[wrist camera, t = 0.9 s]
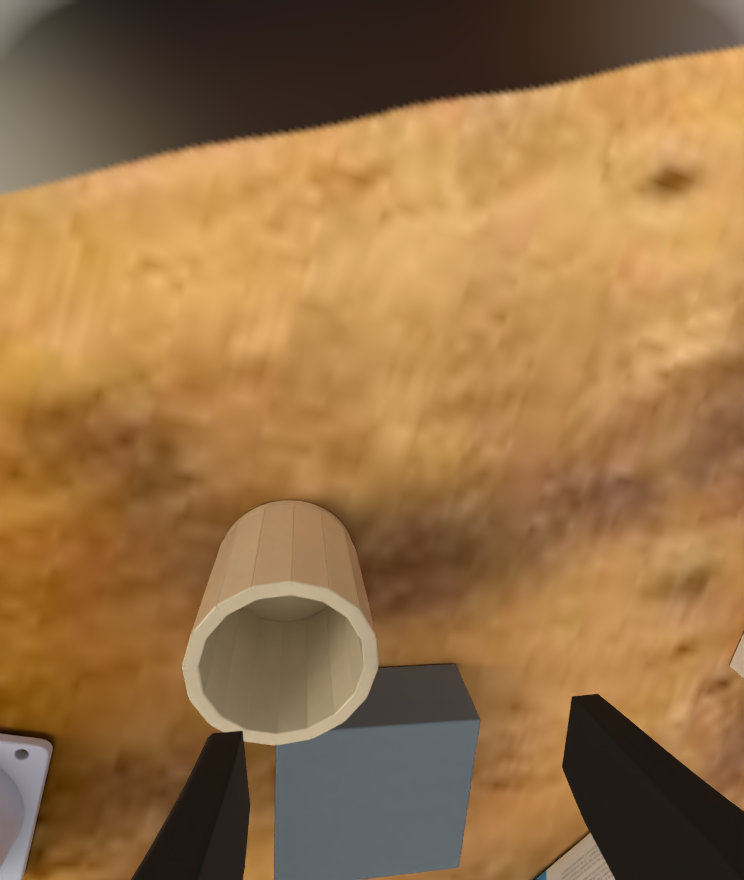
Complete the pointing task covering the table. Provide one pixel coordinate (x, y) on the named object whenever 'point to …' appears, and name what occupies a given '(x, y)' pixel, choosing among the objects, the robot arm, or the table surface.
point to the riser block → (380, 783)
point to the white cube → (739, 659)
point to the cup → (282, 628)
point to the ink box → (580, 864)
